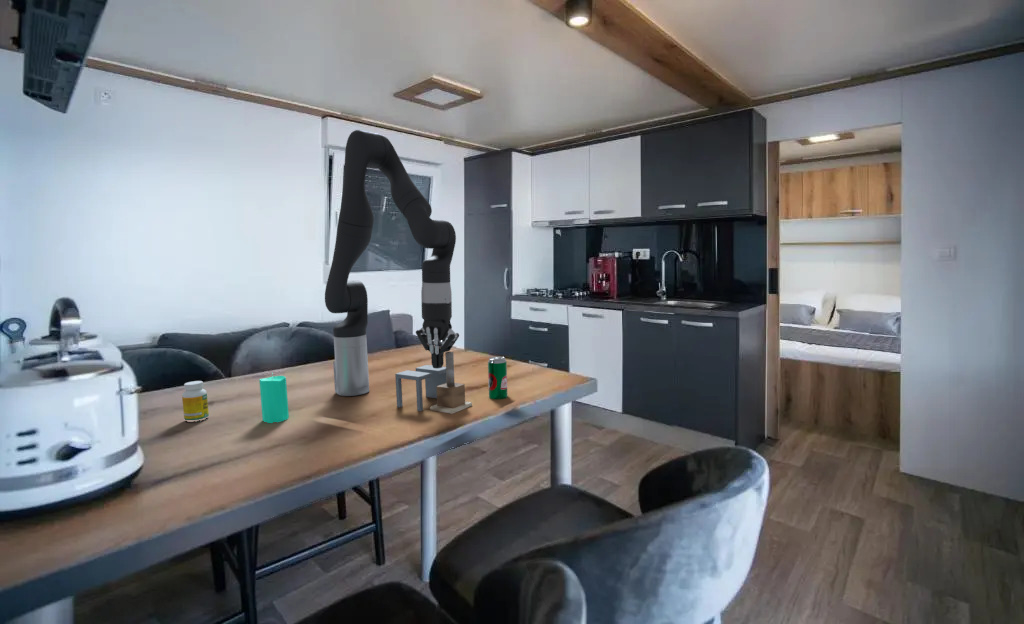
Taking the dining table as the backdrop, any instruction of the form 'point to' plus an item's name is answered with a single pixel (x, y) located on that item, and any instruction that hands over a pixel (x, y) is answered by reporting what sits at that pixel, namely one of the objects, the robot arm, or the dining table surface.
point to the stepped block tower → (450, 391)
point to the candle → (274, 399)
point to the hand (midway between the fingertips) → (437, 367)
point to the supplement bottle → (195, 401)
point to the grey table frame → (426, 372)
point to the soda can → (497, 378)
